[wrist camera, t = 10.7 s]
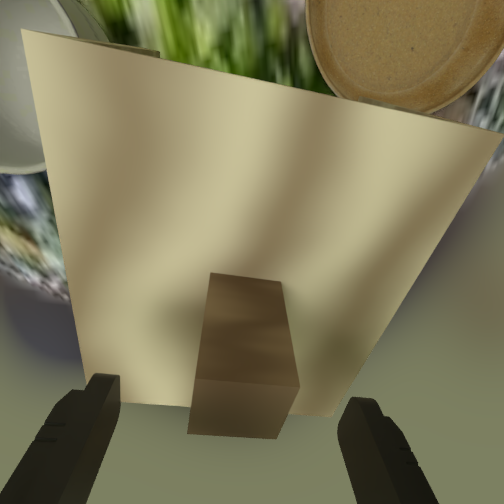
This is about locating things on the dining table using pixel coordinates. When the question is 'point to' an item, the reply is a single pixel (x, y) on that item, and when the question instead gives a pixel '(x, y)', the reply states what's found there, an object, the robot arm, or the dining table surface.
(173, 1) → the dining table surface
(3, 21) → the teacup
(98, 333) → the small wooden table
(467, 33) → the plant saucer
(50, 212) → the dining table surface
